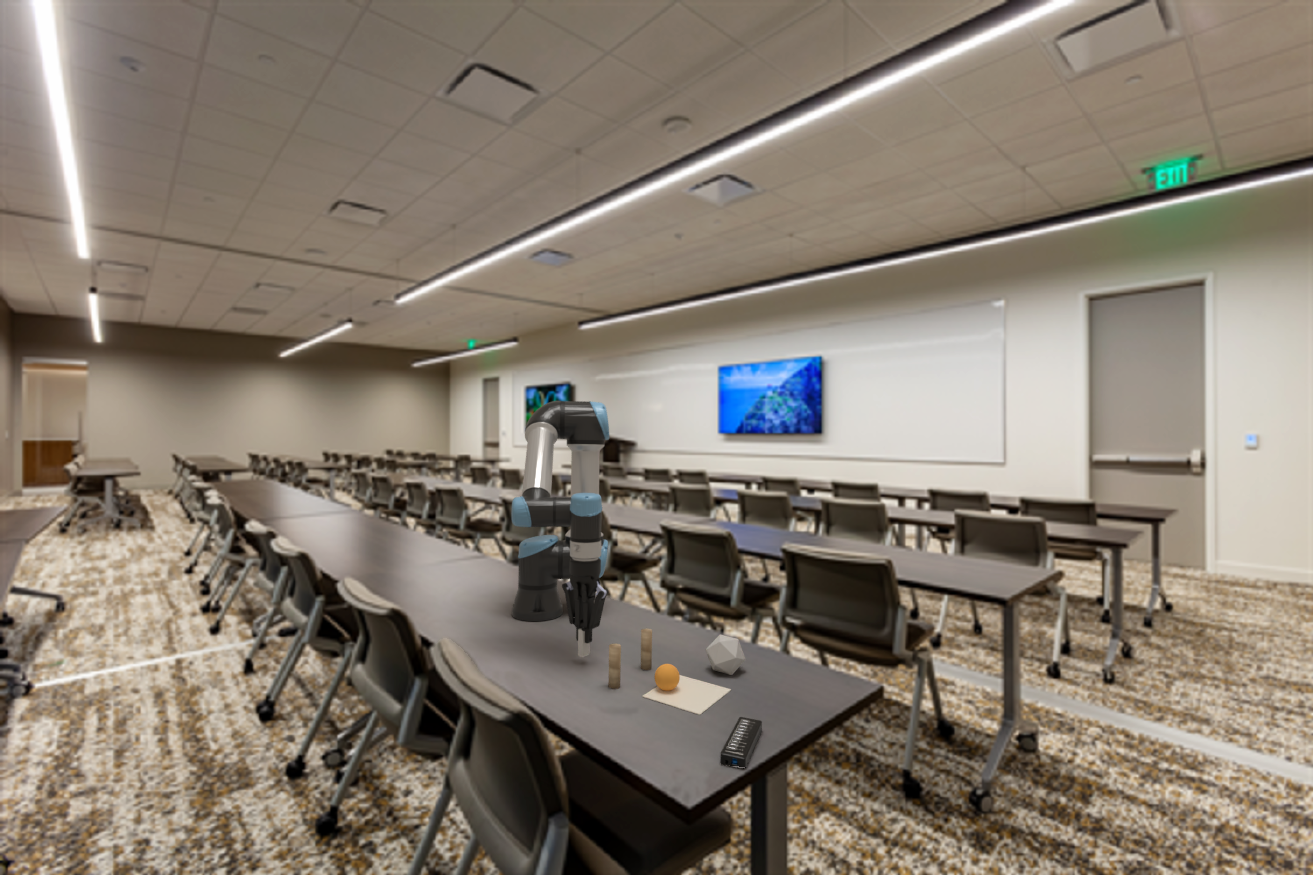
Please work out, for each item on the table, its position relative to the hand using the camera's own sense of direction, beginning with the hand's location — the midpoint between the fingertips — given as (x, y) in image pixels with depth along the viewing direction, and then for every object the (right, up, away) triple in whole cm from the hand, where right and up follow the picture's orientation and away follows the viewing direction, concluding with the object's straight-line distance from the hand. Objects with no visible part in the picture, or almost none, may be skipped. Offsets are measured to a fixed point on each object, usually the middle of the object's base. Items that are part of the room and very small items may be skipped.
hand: (583, 654), depth 146 cm
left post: (+8, -2, -13) cm, 15 cm away
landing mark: (+24, -3, -16) cm, 29 cm away
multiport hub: (+33, -4, -37) cm, 50 cm away
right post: (+15, -2, -2) cm, 15 cm away
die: (+34, -3, -3) cm, 34 cm away
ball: (+20, 0, -14) cm, 24 cm away
